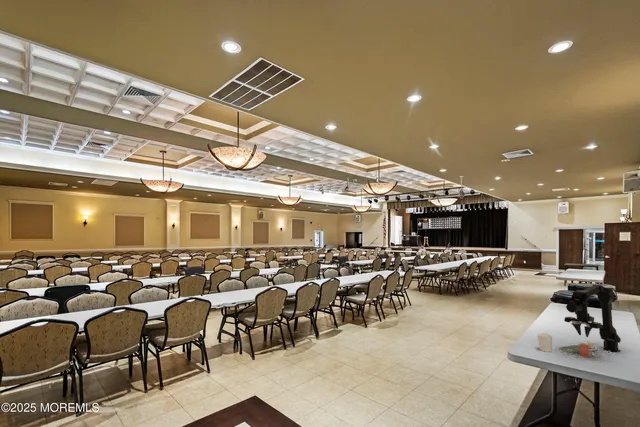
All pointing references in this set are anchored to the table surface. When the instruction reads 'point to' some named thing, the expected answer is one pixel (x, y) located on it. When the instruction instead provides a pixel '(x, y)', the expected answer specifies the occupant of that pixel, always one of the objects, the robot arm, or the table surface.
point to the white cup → (545, 342)
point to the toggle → (591, 344)
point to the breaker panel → (579, 348)
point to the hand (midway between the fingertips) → (583, 336)
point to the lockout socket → (569, 350)
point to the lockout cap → (584, 350)
